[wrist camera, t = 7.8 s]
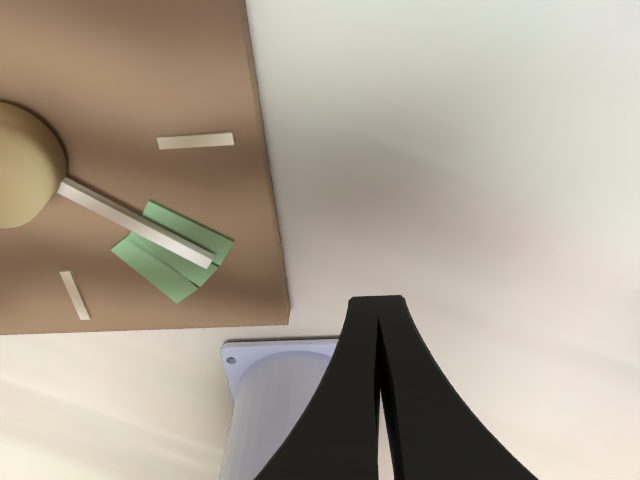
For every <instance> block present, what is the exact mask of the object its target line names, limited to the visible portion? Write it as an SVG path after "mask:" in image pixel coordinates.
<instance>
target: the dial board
mask: <svg viewBox="0 0 640 480" xmlns="http://www.w3.org/2000/svg"><path fill="white" fill-rule="evenodd" d="M0 102H3V103H7V104H11V105H14V106H16V107H19V108H21V109H23V110H25V111H27V112H29V113H30V114H32V115H34V116H35V117H36V118H38V119H39V120H40V121H41V122H42V123H43V124H45V125H46V126H47V127H48V128H49V130H50V131H51V132H52V133H53V134H54V136H55V137H56V138H57V140H58V142H59V144H60V145H61V148H62V150H63V152H64V156H65V159H66V177H67V178H68V179H70V180H72V181H74V182H76V183H78V184H80V185H82V186H84V187H86V188H88V189H89V190H91V191H93V192H95V193H97V194H99V195H101V196H103V197H105V198H107V199H109V200H110V201H112V202H114V203H116V204H118V205H120V206H122V207H124V208H126V209H128V210H130V211H131V212H133V213H135V214H137V215H139V216H141V217H143V218H145V219H147V220H149V221H151V222H152V223H154V224H156V225H158V226H160V227H162V228H164V229H166V230H168V231H170V232H172V233H174V234H175V235H177V236H179V237H181V238H183V239H185V240H187V241H189V242H191V243H193V244H195V245H196V246H198V247H200V248H202V249H204V250H206V251H208V252H210V253H212V254H214V258H213V260H212V262H211V263H210V265H209V266H208V268H207V269H205V268H203V267H201V266H199V265H197V264H195V263H193V262H191V261H189V260H187V259H186V258H184V257H182V256H180V255H178V254H176V253H174V252H172V251H170V250H168V249H166V248H164V247H162V246H160V245H158V244H156V243H154V242H152V241H150V240H148V239H147V238H145V237H143V236H141V235H139V234H137V233H135V232H133V231H131V230H129V229H127V228H125V227H123V226H121V225H119V224H117V223H115V222H113V221H111V220H109V219H108V218H106V217H104V216H102V215H100V214H98V213H96V212H94V211H92V210H90V209H88V208H86V207H84V206H82V205H80V204H78V203H76V202H74V201H72V200H70V199H69V198H67V197H65V196H63V195H61V194H59V193H56V194H55V195H54V196H53V197H52V199H51V200H50V201H49V202H48V203H47V204H46V205H45V206H44V207H43V208H42V210H41V211H40V212H39V213H38V214H37V215H36V216H35V217H34V218H33V219H32V220H31V221H29V222H27V223H26V224H23V225H21V226H18V227H14V228H0V335H17V334H45V333H73V332H101V331H128V330H156V329H184V328H212V327H240V326H268V325H288V323H289V315H290V303H289V296H288V290H287V283H286V276H285V269H284V263H283V256H282V249H281V242H280V236H279V229H278V222H277V215H276V209H275V202H274V195H273V188H272V182H271V175H270V168H269V161H268V155H267V148H266V141H265V135H264V128H263V121H262V114H261V108H260V101H259V94H258V87H257V81H256V74H255V67H254V60H253V54H252V47H251V40H250V33H249V27H248V20H247V13H246V6H245V0H0Z"/></svg>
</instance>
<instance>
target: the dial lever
mask: <svg viewBox="0 0 640 480" xmlns="http://www.w3.org/2000/svg"><path fill="white" fill-rule="evenodd" d="M56 193H59V194H61V195H63V196H65V197H67V198H69V199H70V200H72V201H74V202H76V203H78V204H80V205H82V206H84V207H86V208H88V209H90V210H92V211H94V212H96V213H98V214H100V215H102V216H104V217H106V218H108V219H109V220H111V221H113V222H115V223H117V224H119V225H121V226H123V227H125V228H127V229H129V230H131V231H133V232H135V233H137V234H139V235H141V236H143V237H145V238H147V239H148V240H150V241H152V242H154V243H156V244H158V245H160V246H162V247H164V248H166V249H168V250H170V251H172V252H174V253H176V254H178V255H180V256H182V257H184V258H186V259H187V260H189V261H191V262H193V263H195V264H197V265H199V266H201V267H203V268H205V269H207V268H208V266H209V265H210V263H211V262H212V260H213V258H214V254H212V253H210V252H208V251H206V250H204V249H202V248H200V247H198V246H196V245H195V244H193V243H191V242H189V241H187V240H185V239H183V238H181V237H179V236H177V235H175V234H174V233H172V232H170V231H168V230H166V229H164V228H162V227H160V226H158V225H156V224H154V223H152V222H151V221H149V220H147V219H145V218H143V217H141V216H139V215H137V214H135V213H133V212H131V211H130V210H128V209H126V208H124V207H122V206H120V205H118V204H116V203H114V202H112V201H110V200H109V199H107V198H105V197H103V196H101V195H99V194H97V193H95V192H93V191H91V190H89V189H88V188H86V187H84V186H82V185H80V184H78V183H76V182H74V181H72V180H70V179H68V178H67V177H66V159H65V156H64V152H63V150H62V148H61V145H60V144H59V142H58V140H57V138H56V137H55V136H54V134H53V133H52V132H51V131H50V130H49V128H48V127H47V126H46V125H45V124H43V123H42V122H41V121H40V120H39V119H38V118H36V117H35V116H34V115H32V114H30V113H29V112H27V111H25V110H23V109H21V108H19V107H16V106H14V105H11V104H7V103H3V102H0V228H14V227H18V226H21V225H23V224H26V223H27V222H29V221H31V220H32V219H33V218H34V217H35V216H36V215H37V214H38V213H39V212H40V211H41V210H42V208H43V207H44V206H45V205H46V204H47V203H48V202H49V201H50V200H51V199H52V197H53V196H54V195H55V194H56Z"/></svg>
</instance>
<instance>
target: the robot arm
mask: <svg viewBox="0 0 640 480" xmlns="http://www.w3.org/2000/svg"><path fill="white" fill-rule="evenodd" d="M221 357H222V361H223V365H224V369H225V372H226V376H227V380H228V384H229V388H230V392H231V396H232V400H233V403H234V409H233V414H232V419H231V424H230V429H229V434H228V438H227V443H226V448H225V453H224V458H223V463H222V467H221V472H220V477H219V480H379V478H378V435H379V409H380V390H381V396H382V402H383V409H384V415H385V421H386V427H387V433H388V440H389V446H390V452H391V458H392V464H393V472H394V480H538V479H537V478H536V477H535V476H534V475H533V474H532V473H531V472H530V471H528V470H527V469H526V468H525V467H524V466H523V465H522V464H521V463H520V462H519V461H518V460H517V459H516V458H515V457H514V456H513V455H512V454H511V453H510V452H509V451H508V450H507V449H506V448H505V447H504V446H503V445H502V444H501V443H500V442H499V441H498V440H497V439H496V438H495V437H494V436H493V435H492V434H491V433H490V432H489V431H488V430H487V428H486V427H485V426H484V425H483V424H482V423H481V422H480V420H479V419H478V418H477V417H476V416H475V415H474V413H473V412H472V411H471V410H470V409H469V407H468V406H467V405H466V404H465V402H464V401H463V400H462V398H461V397H460V396H459V395H458V393H457V392H456V391H455V389H454V388H453V386H452V385H451V384H450V382H449V381H448V379H447V378H446V376H445V375H444V373H443V372H442V370H441V369H440V367H439V366H438V364H437V363H436V361H435V360H434V358H433V356H432V355H431V353H430V351H429V349H428V348H427V346H426V344H425V343H424V341H423V339H422V337H421V335H420V334H419V332H418V330H417V328H416V326H415V324H414V321H413V319H412V317H411V315H410V312H409V310H408V307H407V305H406V301H405V298H403V297H402V296H401V295H389V296H362V297H352V298H351V299H350V300H349V302H348V309H347V314H346V318H345V322H344V325H343V328H342V332H341V335H340V337H339V339H321V340H291V341H261V342H232V343H225V344H224V345H223V346H222V348H221ZM229 357H233V358H234V359H232V358H229Z"/></svg>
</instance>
